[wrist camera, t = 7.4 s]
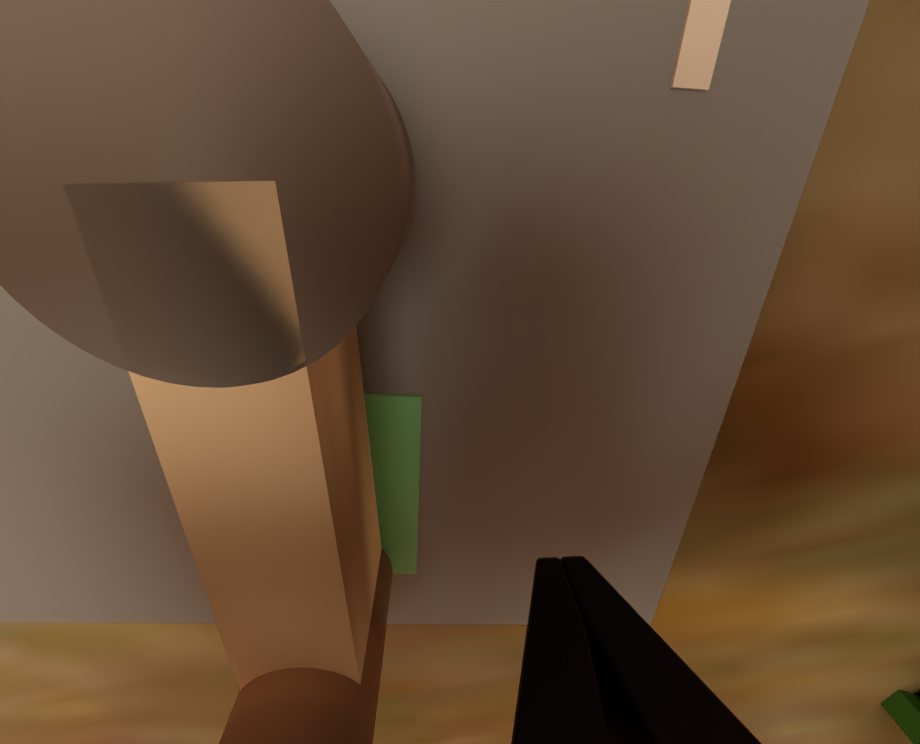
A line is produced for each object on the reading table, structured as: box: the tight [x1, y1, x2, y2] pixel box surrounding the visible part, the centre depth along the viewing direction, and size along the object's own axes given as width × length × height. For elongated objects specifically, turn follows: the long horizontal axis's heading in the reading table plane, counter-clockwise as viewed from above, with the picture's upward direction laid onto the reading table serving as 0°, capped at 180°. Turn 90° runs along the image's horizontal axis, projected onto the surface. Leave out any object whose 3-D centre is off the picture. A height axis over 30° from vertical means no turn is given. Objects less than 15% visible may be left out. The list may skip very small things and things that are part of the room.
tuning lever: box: [0, 0, 415, 744], centre depth 7 cm, size 12×4×4 cm, turn 1°
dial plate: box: [0, 0, 870, 626], centre depth 8 cm, size 18×22×2 cm
